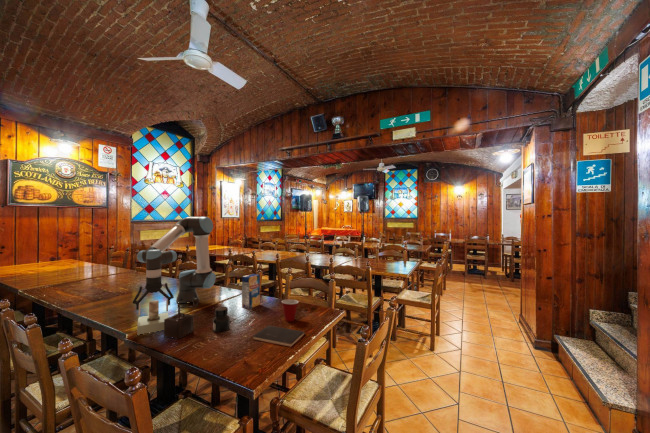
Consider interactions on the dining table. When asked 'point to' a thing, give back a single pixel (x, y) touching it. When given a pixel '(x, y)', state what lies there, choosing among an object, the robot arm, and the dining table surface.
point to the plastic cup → (289, 309)
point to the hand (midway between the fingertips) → (153, 312)
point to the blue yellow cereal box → (250, 290)
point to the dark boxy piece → (180, 322)
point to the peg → (153, 310)
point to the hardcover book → (279, 335)
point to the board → (151, 324)
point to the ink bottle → (221, 320)
